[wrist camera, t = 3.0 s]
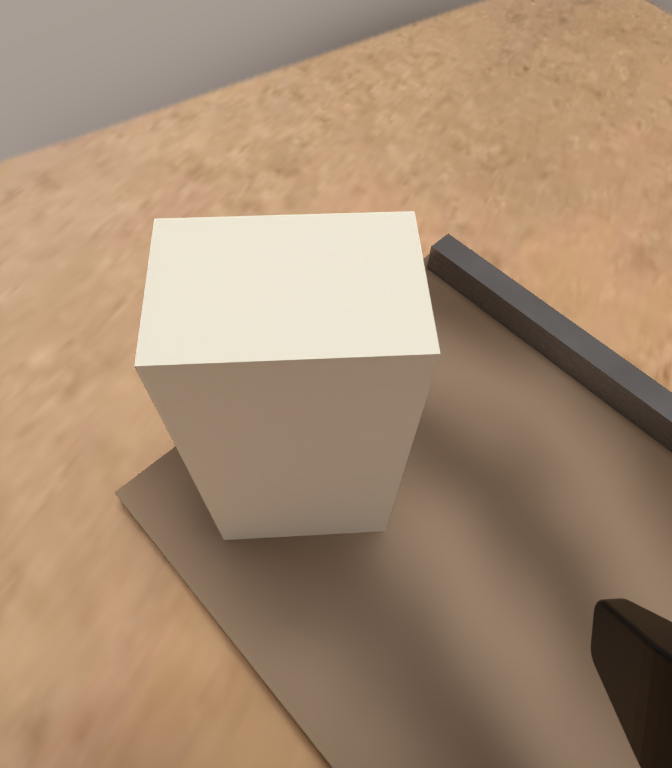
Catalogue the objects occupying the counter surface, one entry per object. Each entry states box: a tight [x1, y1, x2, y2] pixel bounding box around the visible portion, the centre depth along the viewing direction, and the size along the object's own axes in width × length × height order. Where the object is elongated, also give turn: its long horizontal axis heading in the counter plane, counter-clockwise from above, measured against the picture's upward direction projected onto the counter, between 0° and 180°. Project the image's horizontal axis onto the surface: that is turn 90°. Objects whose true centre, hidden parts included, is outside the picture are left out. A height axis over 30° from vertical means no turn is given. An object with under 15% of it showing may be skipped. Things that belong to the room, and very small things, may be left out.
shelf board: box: [115, 254, 672, 768], centre depth 22 cm, size 20×24×1 cm
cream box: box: [135, 211, 440, 540], centre depth 18 cm, size 4×6×12 cm
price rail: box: [427, 234, 672, 452], centre depth 24 cm, size 2×23×2 cm, turn 44°
